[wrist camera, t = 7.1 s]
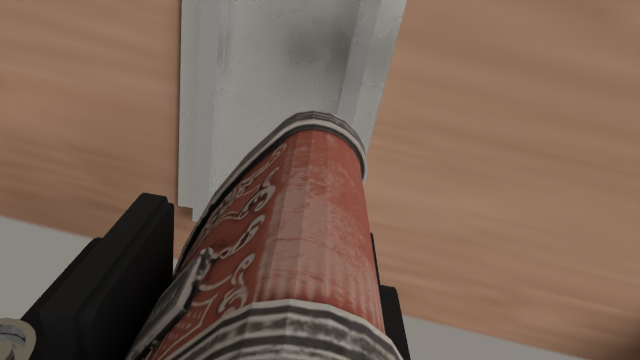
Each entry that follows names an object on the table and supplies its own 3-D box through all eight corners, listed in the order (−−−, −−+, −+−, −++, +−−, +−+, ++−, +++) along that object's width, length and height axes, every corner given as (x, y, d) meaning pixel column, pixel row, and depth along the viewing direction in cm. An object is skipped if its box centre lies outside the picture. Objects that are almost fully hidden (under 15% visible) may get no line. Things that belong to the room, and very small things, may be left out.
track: (418, -50, 20) (426, -53, 19) (345, 231, 29) (345, 247, 27) (186, -101, 20) (172, -107, 18) (179, 202, 28) (169, 217, 26)
